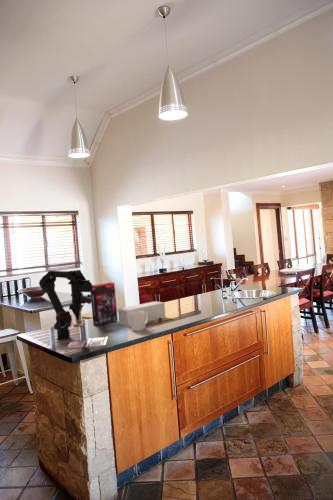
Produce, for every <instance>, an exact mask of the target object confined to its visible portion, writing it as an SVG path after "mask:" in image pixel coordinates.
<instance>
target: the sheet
mask: <svg viewBox="0 0 333 500" xmlns="http://www.w3.org/2000/svg"><path fill="white" fill-rule="evenodd" d="M108 339H109V336H98V337H96V336H95V337H89V338H88V340H87V342H86V343H85V345H84V348H91V347H100V346H102V347H103V346H106V345H107V342H108Z"/></svg>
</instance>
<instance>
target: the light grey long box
mask: <svg viewBox="0 0 333 500" xmlns="http://www.w3.org/2000/svg"><path fill="white" fill-rule="evenodd" d="M133 311H144V313H145V314H144V317H145V322H146V313H148V321H149V322H152V321H151V320H153V321H157V320H160V319H159V318H161V319H164V318H163V317H165V318H166V304H165V302H162V301H157V300H156V301H154V300H153V301H150V302H144V303H141V304H140V303H139V304H136V305H131V306H130V305H129V306H125V307H122V308H121V307H120V308H117V315H118V324H119V325H121V326H123V327H131V322H130V312H133ZM156 319H157V320H156Z"/></svg>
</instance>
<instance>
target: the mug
mask: <svg viewBox="0 0 333 500" xmlns="http://www.w3.org/2000/svg"><path fill="white" fill-rule="evenodd" d="M144 314H145V313H144V311H133V312H130V322H131V326H130V329H131V331H132V332H135V333H136V332H143V331H145V329H146V324H147V323H149V322H148V313H146V322H145V317H144Z"/></svg>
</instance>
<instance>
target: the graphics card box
mask: <svg viewBox="0 0 333 500" xmlns="http://www.w3.org/2000/svg"><path fill="white" fill-rule="evenodd" d="M92 285H93V289H92V291H91V292H89V293H90V295H91V297H92V301H91V303H90V304H91V312H92V323H93V326H98V327H99V326H102V325H103V326H104V325H107V324H111V323H113V322H117V321H119V317H118V308H117V298H116V288H115V287H116V286H115V282H111V281H110V282H104V283H98V284H92Z"/></svg>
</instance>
